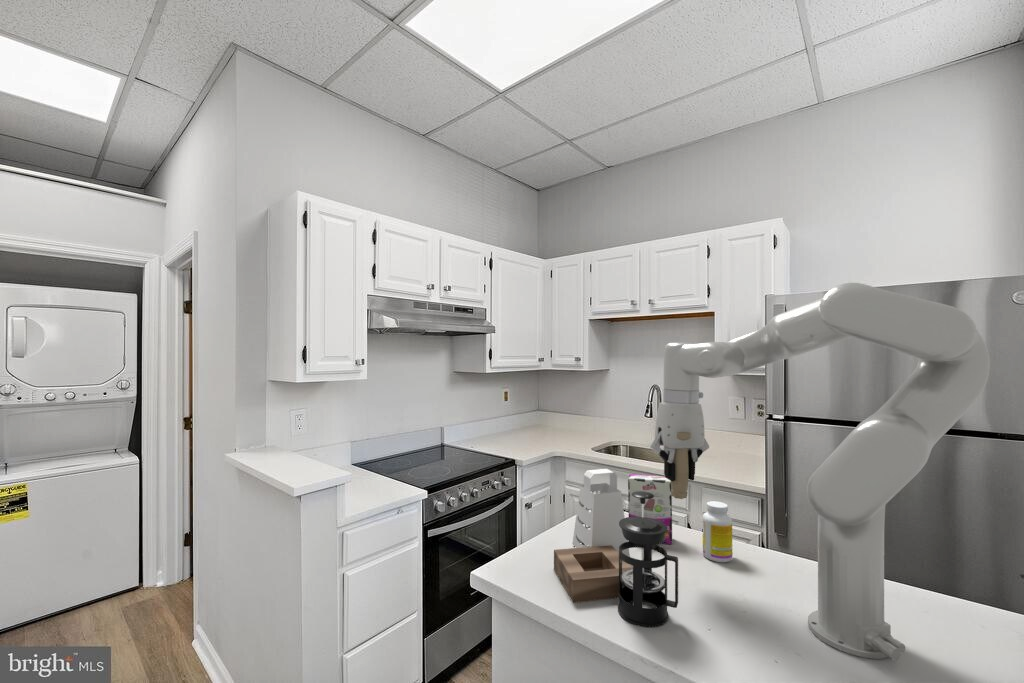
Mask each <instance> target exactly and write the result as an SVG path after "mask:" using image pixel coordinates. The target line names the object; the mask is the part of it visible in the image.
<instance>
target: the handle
mask: <svg viewBox="0 0 1024 683" xmlns="http://www.w3.org/2000/svg"><path fill="white" fill-rule="evenodd" d="M690 437H691V433H677V438H678V439H679V440H688V439H690ZM673 463H675V481H671V489H672V490H671V494H672V497H673V498H674V499H679V500H683V499H686V498H688V488H689V480H690V479H689V466H688V449H675V454H674V459H673Z"/></svg>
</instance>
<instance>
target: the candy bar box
mask: <svg viewBox="0 0 1024 683" xmlns="http://www.w3.org/2000/svg"><path fill="white" fill-rule="evenodd" d="M627 487H628V488H627V491H628V494H627V497H628V501H627V502H628V507H627V508H628V510H627V512H628V517H642V504H641V503H640V498H636V497H634V496H632V493H633V492H636V491H645V492H649V493H652V494H653V495H654V497H653V498H651V499H645V504H644V517H647V518H652V519H656V520H658V521H661V522H663V523H664V524H665V525H666V526H667V531H666V533H665V540H664V541H663V542H662V543H661V544H664V543H666V545H667V544H668V545H672V544H673V505H672V504H673V498H672V497H673V496H672V494H671V490H672V489H671V481H670V480H669V479H667V478H665V476H661V475H660V476H659V475H647V474H635V473H633V474H632V473H629V475H628V478H627Z"/></svg>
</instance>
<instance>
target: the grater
mask: <svg viewBox="0 0 1024 683" xmlns="http://www.w3.org/2000/svg"><path fill="white" fill-rule="evenodd" d="M599 474H609V483H607V482H603V483H593V484H591V479H592V477H593V476H594V475H599ZM594 492H595V493H594ZM598 492H600V493H598ZM577 501H578V502H577V509H576V516H575V523H574V530H573V536H572V544H573V545H574V546H575V547H576V548H582V547H595V546H607V545H612V546H613V547H614V549H615V550H616V551H617V552H618V553H619V546H620V545H621V544H622V543H624V542H628V540H626V539H625V538H624V536H623V533H622V528H620V526H619V521H620V520H621V519H623V518H626V517H625V511H624V503H623V497H622V491H621V490H619V489H618V475H617V474H616V473H615V472H614V471H612V470H610V469H608V468H600V469H589V470H586V471H585V472H584V473H583V484H582V485H580V487H579V493H578V500H577ZM584 507H585V508H584ZM589 511H590V512H589ZM580 543H584V544H580ZM572 544H571V545H572ZM584 545H585V546H584ZM622 553H623V554H625V555H627V556H629V557H631V556H630V548H628V549H625V550H623V551H622Z"/></svg>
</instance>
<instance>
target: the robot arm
mask: <svg viewBox="0 0 1024 683" xmlns="http://www.w3.org/2000/svg"><path fill="white" fill-rule="evenodd" d="M853 338H856V339H858V340H861V341H864V342H867V343H870V344H874V345H876V346H879V347H883V348H886V349H889V350H892V351H896V352H899V353H902V354H905V355H908V356H911V357H915V358H917V365H916V367H915V369H914V370H913V372H912V373H911V374H910V375H909V376H908V377H907V378H906V379H905V381H904V382H903V383H902V384H901V385H900V386H899V387H898V389H897V390H896V391H895V392H894V393H893V395H892V396H891V397H890V398H889V399H888V400H887V401H886V402H885V403H884V404H883V405H882V406H881V407H879V409H877V410H876V411H875V412H874V413H873V414H871V415H869V416H868V417H867V418H865V419H864V420H862V421H861V422H859V423H858V424H857V426H856V427H855V428H854V429H853V430H852V431H851V432H850V433H849V434H848V435H847V436H846V437H845V438H844V439H843V441H842V442H841V443H840V444H839V445H837V447H836V448H835V449H834V450H833V452H831V453H830V455H829V456H828V457H827V458H826V459H825V460H824V461H823V463H822V464H820V466H819V467H818V468H817V469H816V470H815V471H813V473H812V474H811V476H810V477H809V479H808V482H807V484H806V495H807V499H808V502H809V504H810V506H811V508H812V509H813V510H814V511H815V513H816V514H817V610H814V611H812V612H811V613H809V615H807V625H808V628H809V630H810V631H811V632H812V634H813V635H814V636H815V637H817V638H818V639H819V640H821V641H823V642H824V643H825V644H826V645H828V646H831V647H832V648H835V649H837V650H838V651H841V652H844V653H847V654H850V655H853V656H857V657H861V658H867V659H875V660H877V659H880V660H881V659H888V658H890V659H891V660H892V661H895V662H898V661H899V660H900V659H901V657H902V653H904V652H905V650H906V645H905V644H904V643H902V642H901V641H899V640H898V639H895V638H894V637H893V636H892V634H891V633H892V632H891V631H892V630H891V628H892V627H891V624H890V623H888V622H886V621H885V522H886V521H885V520H886V517H885V516H886V505H887V504H888V503H889V501H891V500H892V499H893V498H894V497H895V496H896V495H897V494H898V493H900V492H901V490H902V489H904V487H906V486H907V484H909V483H910V481H912V480H913V479H914V478H915V476H917V475H918V474H919V473H920V472H921V470H922V469H923V467H925V465H926V464H927V462H928V461H929V458H930V455H931V452H932V450H933V447H934V446H935V445H936V443H938V441H939V440H940V439H941V438H942V437H943V436H944V435H946V434H947V432H948V431H950V429H951V428H952V427H954V425H955V424H956V423H957V422H958V421H959V420H960V419H961V418H962V417H963V416H964V414H965V413H966V412H967V411H968V410H969V409H970V408H971V407H972V406H973V404H974V403H975V402H976V401H977V400H978V399H979V397H980V395H981V394H982V393H983V391H984V389H985V387H986V385H987V382H988V380H989V375H990V370H991V359H990V353H989V349H988V346H987V344H986V343H985V341H984V339H983V337H982V335H981V333H980V332H979V331H978V329H977V326H976V324H975V322H974V320H973V319H972V317H971V316H970V315H969V314H967V313H966V312H965V311H963V310H962V309H959V308H957V307H955V306H952V305H948V304H945V303H941V302H936V301H931V300H928V299H924V298H919V297H916V296H911V295H907V294H903V293H899V292H894V291H890V290H886V289H882V288H879V287H875V286H871V285H868V284H865V283H860V282H847V283H842V284H839V285H837V286H835V287H832V288H831V289H829V290H828V291H827V292H826V293H825V294H824V295H823V296H822V298H819V299H817V300H816V299H815V300H814V301H811V302H808V303H806V304H803V305H801V306H800V305H799V306H798V307H795V308H792V309H789V310H787V311H784V312H781V313H779V314H776V315H775V316H774V317H771V319H770V320H769V321H768V323H767V324H766V325H764V326H763V327H761V328H759V329H757V330H755V331H753V332H750V333H749V334H745V335H743V336H740V337H737V338H734V339H732V340H729V341H725V342H724V341H709V342H708V341H707V342H700V343H694V342H669V343H667V344H665V347H664V349H663V352H664V353H663V390H662V391H663V395H662V396H663V397H662V401H661V402H659V404H658V408H657V413H656V419H655V425H654V426H655V428H654V440H653V441H652V443H651V445H650V447H649V448H650V449H651V450H652V451H653V452H655V453H657V454H658V456H660V458H661V459H662V460H663V461H664V462H663V474H664V477H665V478H667V479H669V480H670V481H675V463H673V459H674V454H675V449H688V466H689V479H688V480H689V481H694V480H695V475H696V463H697V462H698V461H699V458H700V457H701V455H702V454H703V453H704V452H706V451H707V450H708V449H710V444H709V443H708V441H707V439H706V438H705V436H706V435H705V419H704V411H703V407H702V404H701V403H700V399H703V398H704V393H703V392H701V391H700V377H703V378H709V379H716V378H717V379H718V378H722V377H723V378H724V377H731V376H735V375H740V374H742V373H745V372H749V371H751V370H754V369H757V368H761V367H765V366H767V365H770V364H773V363H776V362H779V361H783V360H788V359H791V358H793V357H796V356H799V355H800V356H801V355H802V354H805V353H809V352H812V351H815V350H817V349H821V348H825V347H827V346H830V345H834V344H837V343H840V342H844V341H846V340H850V339H853ZM677 433H691V437H690V439H688V440H679V439H678V438H677ZM661 447H663V449H662V448H661Z"/></svg>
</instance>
